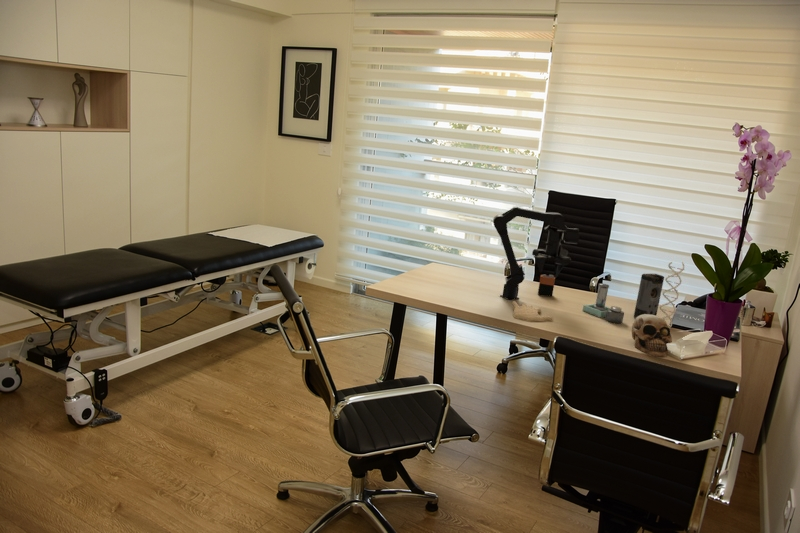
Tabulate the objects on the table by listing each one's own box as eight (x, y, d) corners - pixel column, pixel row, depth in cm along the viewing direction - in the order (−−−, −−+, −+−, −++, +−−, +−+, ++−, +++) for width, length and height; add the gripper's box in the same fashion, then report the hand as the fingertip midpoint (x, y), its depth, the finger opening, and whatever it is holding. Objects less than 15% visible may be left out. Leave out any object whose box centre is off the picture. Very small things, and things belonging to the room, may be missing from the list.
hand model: (504, 310, 253) (517, 294, 270) (502, 320, 255) (515, 304, 272) (549, 322, 246) (559, 305, 263) (547, 333, 248) (557, 315, 265)
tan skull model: (659, 358, 221) (663, 321, 219) (617, 346, 235) (620, 312, 233) (682, 353, 230) (686, 318, 229) (640, 343, 244) (644, 310, 243)
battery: (552, 297, 293) (555, 276, 291) (537, 294, 294) (540, 274, 292) (552, 295, 297) (555, 275, 295) (538, 292, 298) (541, 272, 296)
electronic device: (642, 321, 267) (651, 277, 263) (631, 317, 272) (640, 273, 268) (657, 320, 272) (666, 276, 267) (646, 316, 277) (655, 273, 272)
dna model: (662, 335, 249) (677, 263, 243) (650, 330, 255) (665, 260, 248) (674, 335, 252) (689, 264, 245) (662, 329, 258) (677, 260, 251)
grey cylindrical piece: (601, 314, 269) (606, 286, 267) (590, 310, 273) (595, 283, 270) (607, 312, 273) (612, 285, 270) (596, 309, 276) (601, 282, 274)
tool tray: (600, 317, 266) (601, 311, 266) (582, 310, 274) (583, 305, 274) (615, 315, 272) (616, 310, 271) (597, 309, 280) (598, 303, 279)
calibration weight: (615, 324, 258) (617, 310, 257) (601, 319, 264) (604, 306, 262) (625, 323, 262) (628, 309, 261) (612, 318, 268) (614, 304, 266)
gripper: (582, 245, 272) (576, 279, 276) (551, 236, 287) (545, 269, 291) (564, 245, 266) (558, 280, 269) (533, 237, 281) (528, 270, 285)
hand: (548, 274), depth 279 cm, fingers open, 9 cm apart
